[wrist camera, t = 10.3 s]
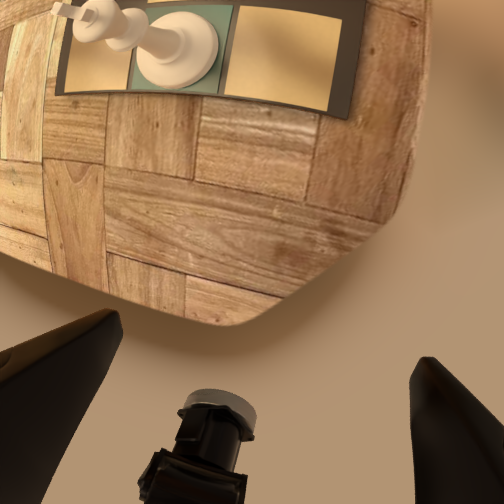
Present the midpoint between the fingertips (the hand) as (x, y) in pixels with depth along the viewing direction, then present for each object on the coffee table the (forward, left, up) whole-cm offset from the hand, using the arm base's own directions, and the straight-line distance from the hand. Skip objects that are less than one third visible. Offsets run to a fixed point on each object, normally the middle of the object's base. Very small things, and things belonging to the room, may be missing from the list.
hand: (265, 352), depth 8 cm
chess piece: (+12, +1, -11) cm, 16 cm away
